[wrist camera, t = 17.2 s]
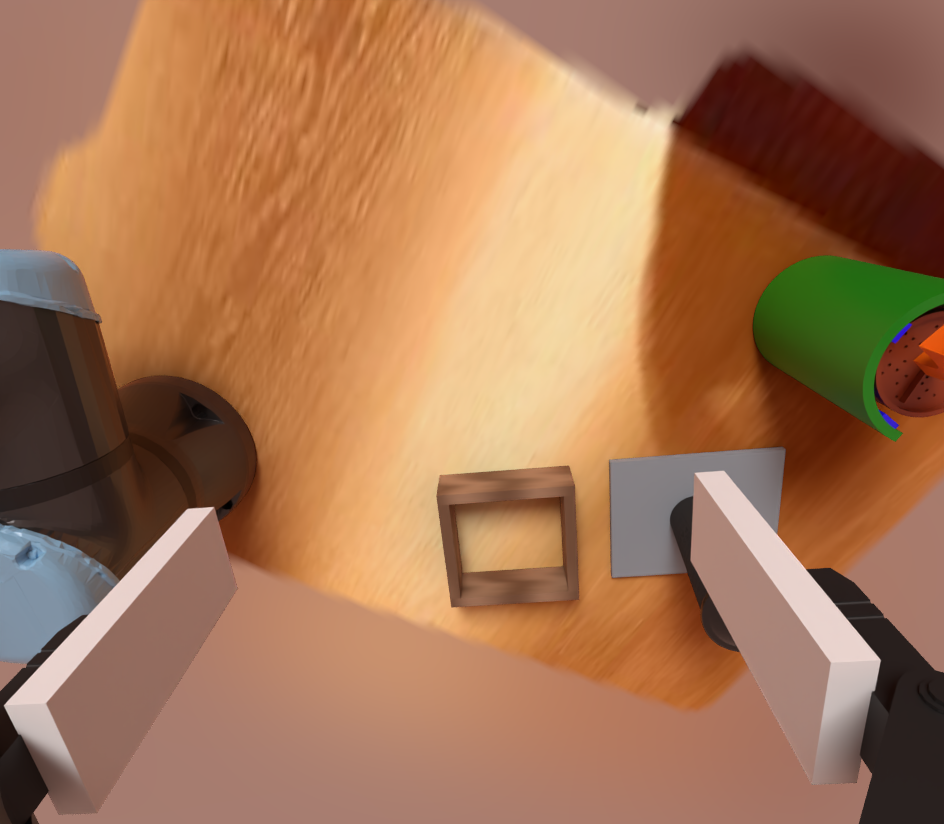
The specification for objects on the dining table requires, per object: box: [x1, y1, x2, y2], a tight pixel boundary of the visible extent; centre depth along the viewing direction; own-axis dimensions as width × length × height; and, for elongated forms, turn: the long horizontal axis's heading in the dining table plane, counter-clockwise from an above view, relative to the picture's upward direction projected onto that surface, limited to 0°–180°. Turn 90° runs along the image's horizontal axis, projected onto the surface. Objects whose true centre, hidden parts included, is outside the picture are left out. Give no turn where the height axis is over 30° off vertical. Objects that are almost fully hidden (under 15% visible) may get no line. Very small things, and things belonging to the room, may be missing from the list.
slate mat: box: [609, 447, 786, 578], centre depth 57 cm, size 16×13×1 cm
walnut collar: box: [437, 466, 579, 607], centre depth 57 cm, size 12×12×4 cm
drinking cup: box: [670, 496, 740, 652], centre depth 47 cm, size 8×8×20 cm
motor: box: [753, 256, 944, 442], centre depth 41 cm, size 10×9×20 cm
